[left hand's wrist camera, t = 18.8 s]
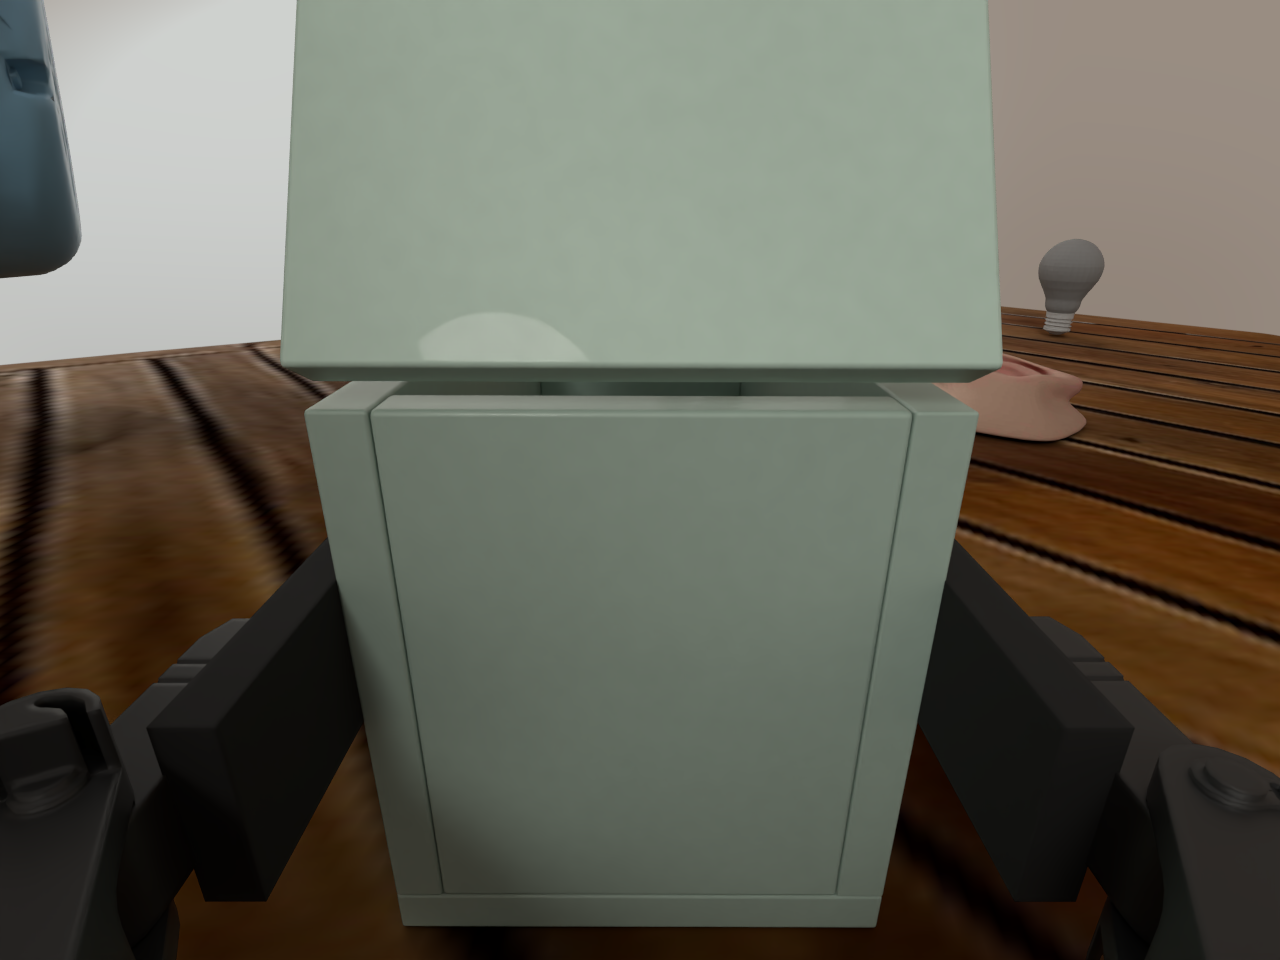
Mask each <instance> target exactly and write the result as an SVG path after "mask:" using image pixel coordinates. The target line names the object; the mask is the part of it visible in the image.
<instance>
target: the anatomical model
mask: <svg viewBox="0 0 1280 960" xmlns="http://www.w3.org/2000/svg"><path fill="white" fill-rule="evenodd" d="M1002 355H1003V364H1002V367H1001V368H1000V369H999V370H996V371H994V372H992V373H990V374H988V375H986V376H983V377H981V378H979V379H977V380H975V381H972V382H970V383H932V384H934V385H935V386H937V387H939V388H940V389H942V390H943V391H945V392H947V393H948V394H950V395H951V396H953V397H955V398H956V399H958V400H959V401H961V402H963V403H964V404H966V405H967V406H969V407H971V408H972V409H974V410H975V411H977V412H978V413H979V418H978V423H977V428H976V432H978V433H984V434H989V435H995V436H1001V437H1007V438H1014V439H1021V440H1031V441H1055V440H1060V439H1063V438H1066V437H1068V436H1070V435H1072V434H1074V433H1076V432H1078V431H1080V430H1081V429H1082V428H1083V427H1084V426H1085V424H1086V419H1085V418H1084V416H1083V415H1082V414H1081V413H1079V412H1078V411H1077V410H1076V409H1075V408H1074V407H1073V406H1072V405H1071V404H1070V403H1069V400H1070V399H1071V398H1072V397H1073V396H1074V395H1076V394H1077V393H1079V392H1080V390H1081V388H1082V380H1081V379H1080V378H1077V377H1075V376H1073V375H1070V374H1066V373H1063V372H1060V371H1056V370H1053V369H1050V368H1047V367H1044V366H1041V365H1038V364H1035V363H1032V362H1029V361H1026V360H1023V359H1020V358H1017V357H1014V356H1010V355H1007V354H1003V353H1002Z"/></svg>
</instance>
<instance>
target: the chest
mask: <svg viewBox="0 0 1280 960" xmlns="http://www.w3.org/2000/svg"><path fill="white" fill-rule="evenodd" d="M304 416H305V421H306V426H307V431H308V436H309V441H310V447H311V452H312V457H313V462H314V467H315V472H316V477H317V483H318V488H319V493H320V498H321V503H322V508H323V514H324V519H325V524H326V529H327V534H328V539H329V545H330V550H331V555H332V560H333V565H334V570H335V575H336V580H337V585H338V591H339V596H340V601H341V606H342V611H343V616H344V621H345V626H346V631H347V636H348V642H349V647H350V652H351V657H352V662H353V667H354V672H355V677H356V682H357V687H358V692H359V698H360V703H361V708H362V713H363V718H364V725H365V730H366V735H367V741H368V746H369V751H370V756H371V761H372V766H373V772H374V777H375V782H376V787H377V792H378V797H379V802H380V808H381V813H382V818H383V823H384V828H385V833H386V839H387V844H388V849H389V854H390V859H391V864H392V870H393V875H394V880H395V885H396V890H397V893H398V901H399V907H400V912H401V917H402V922H403V925H404V926H578V927H875V926H876V923H877V918H878V913H879V908H880V903H881V898H882V895H883V890H884V885H885V880H886V875H887V870H888V865H889V860H890V855H891V850H892V845H893V840H894V835H895V830H896V825H897V820H898V815H899V810H900V805H901V800H902V795H903V790H904V785H905V780H906V775H907V771H908V766H909V761H910V756H911V751H912V746H913V741H914V736H915V731H916V726H917V719H918V714H919V709H920V704H921V699H922V694H923V689H924V684H925V679H926V674H927V669H928V664H929V659H930V654H931V649H932V644H933V639H934V634H935V629H936V624H937V619H938V614H939V609H940V604H941V599H942V594H943V588H944V583H945V581H946V577H947V572H948V567H949V562H950V557H951V552H952V547H953V542H954V537H955V532H956V527H957V522H958V517H959V512H960V507H961V502H962V497H963V492H964V487H965V482H966V477H967V473H968V468H969V463H970V458H971V453H972V448H973V443H974V438H975V433H976V428H977V423H978V418H979V413H978V412H977V411H975V410H974V409H972V408H971V407H969V406H967V405H966V404H964V403H963V402H961V401H959V400H958V399H956V398H955V397H953V396H951V395H950V394H948V393H947V392H945V391H943V390H942V389H940V388H939V387H937V386H935V385H934V384H932V383H840V382H493V381H352V382H350V383H349V384H347V385H345V386H344V387H342V388H341V389H339V390H337V391H336V392H334V393H332V394H331V395H329V396H328V397H326V398H324V399H323V400H321V401H320V402H318V403H316V404H315V405H313V406H312V407H310V408H308V409H307V410H305V414H304Z"/></svg>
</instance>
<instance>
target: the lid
mask: <svg viewBox="0 0 1280 960" xmlns="http://www.w3.org/2000/svg"><path fill="white" fill-rule="evenodd" d="M280 362H281V365H282V367H284V368H287V369H289V370H291V371H293V372H295V373H297V374H299V375H301V376H304V377H306V378H308V379H310V380H312V381H493V382H840V383H970V382H972V381H975V380H977V379H979V378H981V377H983V376H986V375H988V374H990V373H992V372H994V371H996V370H999V369H1000V368H1001V367H1002V364H1003V355H1002V331H1001V306H1000V283H999V258H998V233H997V210H996V185H995V161H994V136H993V111H992V87H991V63H990V39H989V14H988V0H297V10H296V31H295V52H294V74H293V95H292V117H291V138H290V160H289V181H288V203H287V224H286V246H285V267H284V288H283V310H282V332H281V353H280Z"/></svg>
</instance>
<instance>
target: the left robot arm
mask: <svg viewBox="0 0 1280 960" xmlns="http://www.w3.org/2000/svg"><path fill="white" fill-rule="evenodd" d="M80 242H81V224H80V216H79V208H78V201H77V194H76V188H75V181H74V175H73V168H72V162H71V156H70V150H69V144H68V138H67V132H66V126H65V120H64V114H63V108H62V102H61V97H60V91H59V86H58V80H57V75H56V69H55V63H54V57H53V51H52V45H51V40H50V34H49V29H48V23H47V18H46V12H45V7H44V2H43V0H0V278H9V277H21V276H32V275H41V274H46V273H48V272H51V271H54V270H56V269H57V268H60V267H61V266H63V265H65V264H67V263H68V262H69V261H70V260H71V259H72V257H73V256H75V254H76V252H77V250H78V248H79V246H80ZM158 679H159V681H158V683H153V684H152V685H151V686H150V687H149V688H148V689H147V690H146V691H145V692H144V693H143V694H142V695H141V696H140V697H139V698H138V699H137V700H136V701H135V702H134V703H133V704H132V705H131V706H129V707H128V708H127V709H126V710H125V711H124V712H123V713H122V714H121V715H120V716H119V717H118V718H117V719H116V720H115V721H114V722H113V723H112V724H111V725H109V722H108V719H107V717H106V714H105V711H104V708H103V706H102V703H101V700H100V697H99V696H98V695H96V694H94V693H93V692H91V691H89V690H88V689H78V688H62V689H55V690H49V691H42V692H38V693H35V694H32V695H29V696H26V697H22V698H19V699H16V700H13V701H10V702H8V703H6V704H4V705H2V706H0V960H176V957H177V947H178V938H179V929H180V922H179V917H178V911H177V908H176V905H175V902H174V900H173V899H174V897H175V896H176V894H177V893H178V891H179V890H180V888H181V887H182V885H183V884H184V882H185V881H186V879H187V878H188V876H189V875H190V873H191V872H192V870H193V869H194V870H195V873H196V876H197V879H198V882H199V885H200V887H201V890H202V893H203V896H204V899H205V901H267V899H268V897H269V895H270V893H271V892H272V890H273V888H274V886H275V884H276V882H277V880H278V879H279V877H280V875H281V873H282V871H283V869H284V868H285V866H286V864H287V862H288V860H289V858H290V856H291V855H292V853H293V851H294V849H295V847H296V845H297V843H298V842H299V840H300V838H301V836H302V834H303V832H304V831H305V829H306V827H307V825H308V823H309V821H310V819H311V818H312V816H313V814H314V812H315V810H316V808H317V806H318V805H319V803H320V801H321V799H322V797H323V795H324V794H325V792H326V790H327V788H328V786H329V784H330V782H331V781H332V779H333V777H334V775H335V773H336V771H337V769H338V768H339V766H340V764H341V762H342V760H343V758H344V757H345V755H346V753H347V751H348V749H349V747H350V745H351V744H352V742H353V740H354V738H355V736H356V734H357V732H358V731H359V729H360V727H361V725H362V723H363V721H364V718H363V713H362V708H361V703H360V698H359V692H358V687H357V682H356V677H355V672H354V667H353V662H352V657H351V652H350V647H349V642H348V636H347V631H346V626H345V621H344V616H343V611H342V606H341V601H340V596H339V591H338V585H337V580H336V575H335V570H334V565H333V560H332V555H331V550H330V545H329V539H328V537H327V539H326V540H325V541H324V542H323V543H322V544H321V545H320V546H319V547H318V548H317V549H316V550H315V551H314V552H313V553H312V554H311V555H310V556H309V557H308V558H307V559H306V561H305V562H304V563H303V564H302V565H301V566H300V567H299V568H298V569H297V570H296V571H295V572H294V573H293V574H292V575H291V576H290V577H289V578H288V579H287V580H286V581H285V583H284V584H283V585H282V586H281V587H280V588H279V589H278V590H277V591H276V592H275V593H274V594H273V595H272V596H271V597H270V598H269V599H268V600H267V601H266V602H265V603H264V605H263V606H262V607H261V608H260V609H259V610H258V611H257V612H256V613H255V614H254V615H253V616H252V617H251V618H250V619H231V620H230V621H228V622H226V623H224V624H223V625H221V626H219V627H218V628H216V629H214V630H212V631H211V632H209V633H207V634H206V635H204V636H202V637H201V638H199V639H198V640H197V641H196V642H195V643H194V644H193V645H192V646H191V647H190V648H189V649H188V650H187V651H186V652H185V653H184V654H183V655H182V656H181V657H180V658H179V659H178V662H177V664H173V665H172V666H171V667H170V668H169V669H168V670H167V671H165V672H164V673H163V674H162V675H161V676H160V677H159V678H158ZM917 722H918V724H919V725H920V727H921V729H922V731H923V733H924V735H925V737H926V738H927V740H928V742H929V744H930V746H931V748H932V749H933V751H934V753H935V755H936V757H937V759H938V761H939V762H940V764H941V766H942V768H943V770H944V772H945V774H946V775H947V777H948V779H949V781H950V783H951V785H952V786H953V788H954V790H955V792H956V794H957V796H958V798H959V799H960V801H961V803H962V805H963V807H964V809H965V811H966V812H967V814H968V816H969V818H970V820H971V822H972V823H973V825H974V827H975V829H976V831H977V833H978V835H979V836H980V838H981V840H982V842H983V844H984V846H985V848H986V849H987V851H988V853H989V855H990V857H991V859H992V860H993V862H994V864H995V866H996V868H997V870H998V872H999V873H1000V875H1001V877H1002V879H1003V881H1004V883H1005V885H1006V886H1007V888H1008V890H1009V892H1010V894H1011V896H1012V897H1013V899H1014V901H1015V902H1076V899H1077V896H1078V893H1079V890H1080V887H1081V884H1082V882H1083V879H1084V876H1085V873H1086V870H1087V867H1089V869H1090V870H1091V871H1092V873H1093V874H1094V876H1095V877H1096V879H1097V880H1098V882H1099V883H1100V885H1101V886H1102V888H1103V889H1104V891H1105V892H1106V894H1107V895H1108V897H1107V900H1106V902H1105V905H1104V908H1103V911H1102V913H1101V916H1100V919H1099V922H1098V924H1097V927H1096V930H1095V933H1094V935H1093V938H1092V941H1091V943H1090V946H1089V949H1088V952H1087V957H1086V960H1100V958H1101V955H1103V954H1104V960H1280V778H1279V777H1277V776H1276V775H1275V774H1273V773H1272V772H1270V771H1268V770H1266V769H1264V768H1263V767H1261V766H1259V765H1257V764H1255V763H1253V762H1252V761H1250V760H1248V759H1246V758H1244V757H1241V756H1238V755H1235V754H1233V753H1230V752H1227V751H1224V750H1222V749H1219V748H1215V747H1209V746H1203V745H1198V744H1193V743H1192V742H1191V741H1190V740H1189V739H1188V738H1187V737H1186V736H1185V735H1184V734H1183V733H1182V732H1181V731H1180V730H1179V729H1178V728H1177V727H1176V726H1175V725H1174V724H1172V723H1171V722H1170V721H1169V720H1168V719H1167V718H1166V717H1165V716H1164V715H1163V714H1162V713H1161V712H1160V711H1159V710H1158V709H1157V708H1156V707H1155V706H1154V705H1153V704H1152V703H1151V702H1150V701H1149V700H1148V699H1147V698H1146V697H1145V696H1143V695H1142V694H1141V693H1140V692H1139V691H1138V690H1137V689H1136V688H1135V687H1134V686H1133V685H1132V684H1131V683H1130V682H1129V681H1124V679H1123V675H1122V674H1121V673H1120V672H1119V671H1118V670H1117V669H1116V668H1114V667H1113V666H1112V665H1111V664H1110V663H1109V662H1105V661H1104V657H1103V656H1102V655H1101V654H1100V653H1099V652H1098V651H1097V650H1096V649H1095V648H1094V647H1093V646H1092V645H1091V644H1090V643H1089V642H1088V641H1087V640H1086V639H1084V638H1083V637H1082V636H1081V635H1080V634H1078V633H1076V632H1074V631H1073V630H1071V629H1069V628H1068V627H1066V626H1064V625H1062V624H1061V623H1059V622H1057V621H1056V620H1054V619H1052V618H1050V617H1029V616H1028V615H1027V614H1026V613H1025V612H1024V611H1023V610H1022V609H1021V608H1020V607H1019V606H1018V605H1017V604H1016V603H1015V602H1014V600H1013V599H1012V598H1011V597H1010V596H1009V595H1008V594H1007V593H1006V592H1005V591H1004V590H1003V589H1002V588H1001V587H1000V586H999V585H998V584H997V583H996V582H995V581H994V580H993V578H992V577H991V576H990V575H989V574H988V573H987V572H986V571H985V570H984V569H983V568H982V567H981V566H980V565H979V564H978V563H977V562H976V561H975V560H974V559H973V558H972V556H971V555H970V554H969V553H968V552H967V551H966V550H965V549H964V548H963V547H962V546H961V545H960V544H959V543H958V542H957V541H956V540H955V539H954V542H953V547H952V552H951V557H950V562H949V567H948V572H947V577H946V581H945V583H944V588H943V594H942V599H941V604H940V609H939V614H938V619H937V624H936V629H935V634H934V639H933V644H932V649H931V654H930V659H929V664H928V669H927V674H926V679H925V684H924V689H923V694H922V699H921V704H920V709H919V714H918V719H917Z"/></svg>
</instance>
